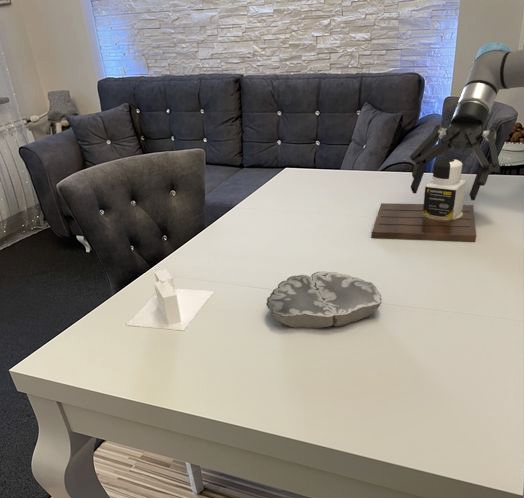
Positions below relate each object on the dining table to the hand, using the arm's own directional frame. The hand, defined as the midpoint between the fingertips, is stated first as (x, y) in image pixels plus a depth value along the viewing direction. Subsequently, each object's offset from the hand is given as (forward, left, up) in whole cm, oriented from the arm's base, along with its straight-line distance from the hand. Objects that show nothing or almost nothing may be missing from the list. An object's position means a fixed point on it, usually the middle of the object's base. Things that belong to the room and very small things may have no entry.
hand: (441, 194), depth 121 cm
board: (+3, +1, -7) cm, 8 cm away
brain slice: (+19, +45, -7) cm, 49 cm away
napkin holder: (+46, +49, -7) cm, 68 cm away
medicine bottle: (-1, -2, -5) cm, 6 cm away
